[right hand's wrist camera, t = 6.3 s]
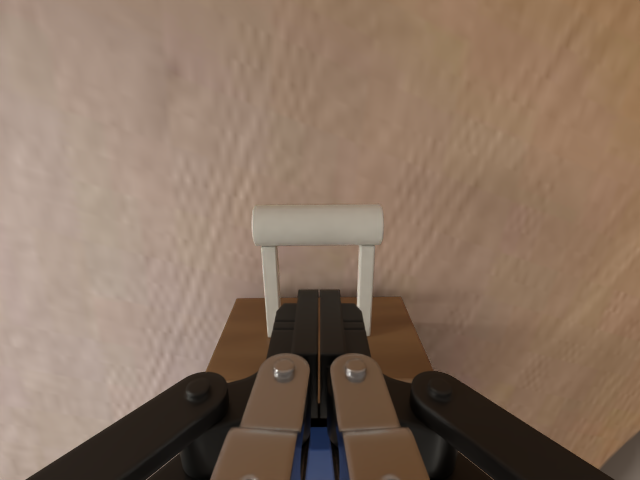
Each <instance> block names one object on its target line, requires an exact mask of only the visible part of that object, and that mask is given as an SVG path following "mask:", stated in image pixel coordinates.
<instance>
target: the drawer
mask: <svg viewBox="0 0 640 480" xmlns="http://www.w3.org/2000/svg"><path fill="white" fill-rule="evenodd" d="M383 234H384V215H383V209H382V206H381V204H303V205H255V206H254V208H253V212H252V237H253V241H254V244H255V245H256V246H262V247H261V255H262V268H263V281H264V294H265V298H238V299H236V302H235V304H234V306H233V309H232V311H231V313H230V316H229V318H228V320H227V323H226V325H225V327H224V330H223V332H222V334H221V337H220V339H219V342H218V344H217V346H216V349H215V351H214V353H213V356H212V358H211V360H210V363H209V365H208V367H207V370H206V372H214V373H218V374H220V375H222V376H223V377H224V378H225V380H226V382H227V383H229V382H233V381H237V380H241V379H244V378H247V377H249V376H251V375H253V374H255V373H256V372H257V371H259V368H260V366H261V364H262V363H263V362H264V361H265V360H266V357H267V353H268V348H269V343H270V339H271V334H272V330H273V325H274V322H275V316H276V311H277V310H278V309H279V308H280V307H281V306H282V305H283V304H284V303H297V299H298V298H280V282H279V265H278V248H277V246H318V245H359V258H358V286H357V297H340V298H341V303H355V305H356V306H357V307H358V308H359V309H360V310H361V311H362V315H363V320H364V325H365V330H366V334H367V339H368V344H369V349H370V353H371V358H372V359H374V360H375V361H376V362H377V363H378V364H379V366H380V368H381V371H382V373H383V374H384V375H386V376H388V377H390V378H393V379H396V380H400V381H404V382H408V383H412V380H413V379H414V377H415V376H416V375H418V374H419V373H422V372H425V371H433V369H432V366H431V364H430V362H429V359H428V357H427V355H426V353H425V350H424V348H423V346H422V344H421V341H420V339H419V337H418V334H417V332H416V330H415V328H414V325H413V323H412V321H411V319H410V316H409V314H408V312H407V309H406V307H405V305H404V303H403V300H402V298H401V297H372V296H373V278H374V260H375V246H374V245H380V244H381V243H382V240H383ZM311 427H327V418H320V298H318V418H311Z"/></svg>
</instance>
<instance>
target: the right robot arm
mask: <svg viewBox="0 0 640 480" xmlns="http://www.w3.org/2000/svg"><path fill="white" fill-rule="evenodd" d="M311 418H318V290H299V291H298V299H297V303H284V304H283V305H282V306H281V307H280V308H279V309H278V310H277V311H276V316H275V322H274V325H273V330H272V334H271V339H270V343H269V348H268V353H267V357H266V360H265V361H264V362H263V363H262V364H261V366H260V368H259V371H257V372H256V373H255V374H253V375H251V376H249V377H247V378H244V379H241V380H237V381H233V382H229V383H227V382H226V380H225V378H224V377H223V376H222V375H220V374H218V373H214V372H200V373H196V374H193V375H190V376H188V377H186V378H184V379H183V380H181V381H180V382H178V383H177V384H175V385H173V386H172V387H170V388H169V389H167V390H166V391H164V392H162V393H161V394H159V395H158V396H156V397H155V398H153V399H151V400H150V401H148V402H147V403H145V404H144V405H142V406H140V407H139V408H137V409H136V410H134V411H133V412H131V413H129V414H128V415H126V416H125V417H123V418H122V419H120V420H118V421H117V422H115V423H114V424H112V425H111V426H109V427H108V428H106V429H104V430H103V431H101V432H100V433H98V434H97V435H95V436H93V437H92V438H90V439H89V440H87V441H86V442H84V443H82V444H81V445H79V446H78V447H76V448H75V449H73V450H71V451H70V452H68V453H67V454H65V455H64V456H62V457H60V458H59V459H57V460H56V461H54V462H53V463H51V464H49V465H48V466H46V467H45V468H43V469H42V470H40V471H38V472H37V473H35V474H34V475H32V476H31V477H29V478H28V479H26V480H146V479H147V478H148V479H147V480H307V474H308V465H309V455H310V446H311ZM320 418H327V433H328V436H329V446H330V455H331V465H332V474H333V480H493V479H494V480H614V479H612V478H611V477H609V476H608V475H606V474H605V473H603V472H601V471H600V470H598V469H597V468H595V467H594V466H592V465H591V464H589V463H587V462H586V461H584V460H583V459H581V458H580V457H578V456H576V455H575V454H573V453H572V452H570V451H569V450H567V449H565V448H564V447H562V446H561V445H559V444H558V443H556V442H554V441H553V440H551V439H550V438H548V437H547V436H545V435H543V434H542V433H540V432H539V431H537V430H536V429H534V428H532V427H531V426H529V425H528V424H526V423H525V422H523V421H522V420H520V419H518V418H517V417H515V416H514V415H512V414H511V413H509V412H507V411H506V410H504V409H503V408H501V407H500V406H498V405H496V404H495V403H493V402H492V401H490V400H489V399H487V398H485V397H484V396H482V395H481V394H479V393H478V392H476V391H474V390H473V389H471V388H470V387H468V386H467V385H465V384H463V383H462V382H460V381H459V380H457V379H456V378H454V377H452V376H450V375H448V374H445V373H442V372H438V371H425V372H422V373H419V374H418V375H416V376H415V377H414V379H413V380H412V383H408V382H404V381H400V380H396V379H393V378H390V377H388V376H386V375H384V374H383V373H382V371H381V368H380V366H379V364H378V363H377V362H376V361H375V360H374V359H372V358H371V353H370V349H369V344H368V339H367V334H366V330H365V325H364V320H363V315H362V311H361V310H360V309H359V308H358V307H357V306H356V305H355V303H341V298H340V290H320ZM458 451H459V452H460V453H459V452H458ZM178 453H179V454H178ZM461 453H462V454H463V455H464V456H465V457H464V456H463V455H462V454H461ZM177 454H178V455H177ZM176 455H177V456H176ZM175 456H176V457H175ZM173 457H174V458H173ZM466 457H467V458H468V459H469V460H470V461H469V460H468V459H467V458H466ZM172 458H173V459H172ZM171 459H172V460H171ZM170 460H171V461H170ZM168 461H169V462H168ZM471 461H472V462H473V463H474V464H475V465H474V464H473V463H472V462H471ZM167 462H168V463H167ZM166 463H167V464H166ZM165 464H166V465H165ZM163 465H164V466H163ZM476 465H477V466H478V467H479V468H480V469H482V470H483V471H484V472H485V473H486V474H485V473H484V472H483V471H482V470H480V469H479V468H478V467H477V466H476ZM162 466H163V467H162ZM161 467H162V468H161ZM160 468H161V469H160ZM158 469H160V470H158ZM157 470H158V471H157ZM156 471H157V472H156ZM155 472H156V473H155ZM154 473H155V474H154ZM152 474H153V475H152ZM487 474H488V475H489V476H490V477H491V478H490V477H489V476H488V475H487ZM151 475H152V476H151ZM150 476H151V477H150ZM149 477H150V478H149ZM492 478H493V479H492Z"/></svg>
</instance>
